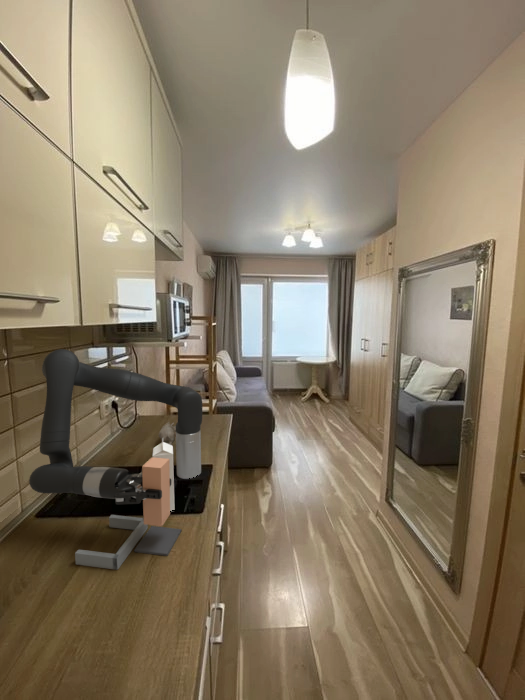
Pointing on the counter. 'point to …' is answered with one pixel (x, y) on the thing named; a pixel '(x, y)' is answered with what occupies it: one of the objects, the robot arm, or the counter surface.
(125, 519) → the stall
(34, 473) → the robot arm
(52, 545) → the counter surface
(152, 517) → the post
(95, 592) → the counter surface
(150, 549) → the mat
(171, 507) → the milk
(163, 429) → the rhinoceros figurine
